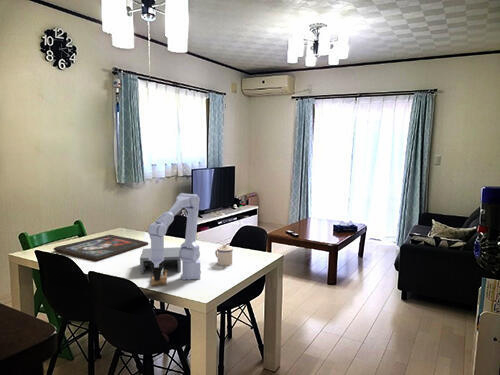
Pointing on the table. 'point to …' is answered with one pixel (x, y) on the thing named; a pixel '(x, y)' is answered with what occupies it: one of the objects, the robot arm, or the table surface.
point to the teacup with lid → (224, 255)
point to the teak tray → (162, 279)
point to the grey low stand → (169, 257)
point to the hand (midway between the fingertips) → (157, 277)
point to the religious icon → (101, 247)
